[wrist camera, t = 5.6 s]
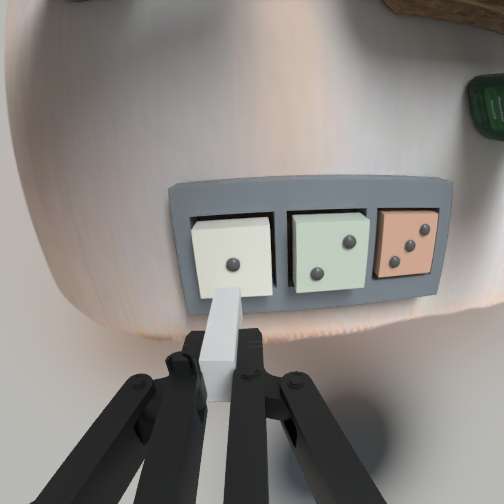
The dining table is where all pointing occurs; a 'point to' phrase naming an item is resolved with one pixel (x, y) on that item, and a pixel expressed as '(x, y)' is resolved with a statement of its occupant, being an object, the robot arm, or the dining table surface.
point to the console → (310, 198)
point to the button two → (329, 251)
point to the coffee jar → (488, 104)
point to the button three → (404, 241)
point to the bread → (456, 11)
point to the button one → (233, 256)
